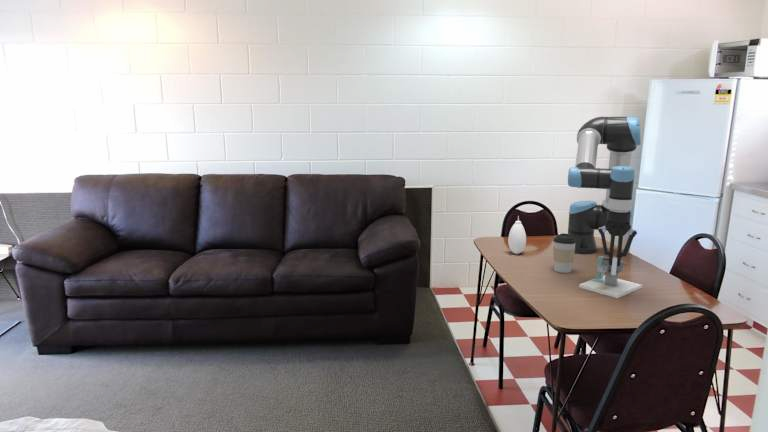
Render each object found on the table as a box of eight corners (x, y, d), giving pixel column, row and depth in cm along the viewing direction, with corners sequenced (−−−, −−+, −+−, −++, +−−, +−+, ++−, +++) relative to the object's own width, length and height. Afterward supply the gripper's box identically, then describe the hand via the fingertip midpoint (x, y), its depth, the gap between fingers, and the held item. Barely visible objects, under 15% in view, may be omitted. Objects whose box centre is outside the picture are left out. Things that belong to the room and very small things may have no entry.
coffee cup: (575, 274, 215) (578, 238, 212) (552, 272, 217) (554, 237, 214) (572, 267, 224) (574, 233, 221) (550, 266, 226) (552, 232, 222)
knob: (611, 263, 204) (611, 256, 204) (630, 268, 199) (631, 260, 198) (590, 270, 196) (591, 263, 195) (609, 275, 190) (610, 267, 189)
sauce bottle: (516, 256, 240) (518, 218, 236) (504, 252, 247) (506, 215, 243) (528, 254, 244) (530, 216, 240) (516, 250, 251) (518, 213, 247)
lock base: (604, 277, 211) (606, 253, 208) (641, 287, 199) (644, 262, 197) (579, 287, 200) (581, 261, 198) (617, 298, 188) (619, 271, 186)
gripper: (638, 209, 188) (632, 273, 193) (599, 207, 192) (594, 269, 197) (640, 213, 181) (633, 279, 186) (599, 210, 186) (594, 275, 190)
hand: (613, 274), depth 192 cm, fingers closed
